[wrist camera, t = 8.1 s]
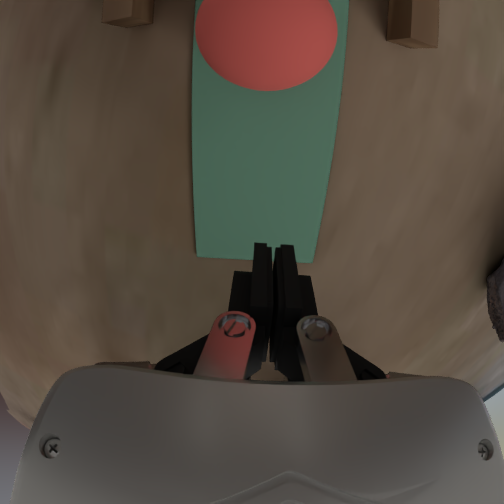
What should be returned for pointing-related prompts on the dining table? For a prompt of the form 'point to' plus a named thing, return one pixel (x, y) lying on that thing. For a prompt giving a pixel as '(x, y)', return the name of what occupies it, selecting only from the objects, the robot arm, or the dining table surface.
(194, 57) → the strip
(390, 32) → the backstop
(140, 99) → the dining table surface
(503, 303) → the perforated stone tool
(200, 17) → the ball
